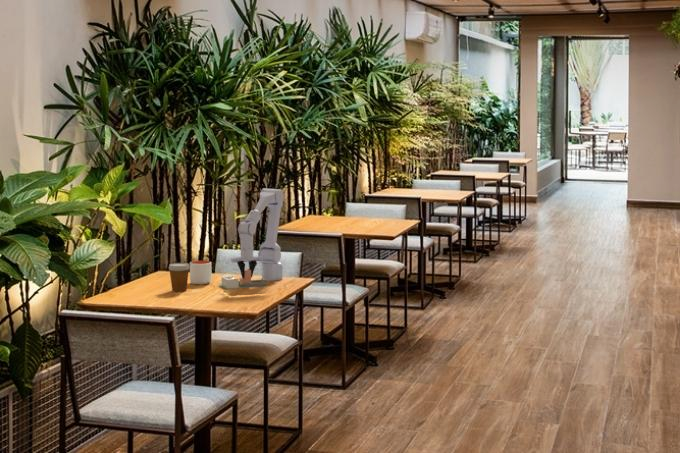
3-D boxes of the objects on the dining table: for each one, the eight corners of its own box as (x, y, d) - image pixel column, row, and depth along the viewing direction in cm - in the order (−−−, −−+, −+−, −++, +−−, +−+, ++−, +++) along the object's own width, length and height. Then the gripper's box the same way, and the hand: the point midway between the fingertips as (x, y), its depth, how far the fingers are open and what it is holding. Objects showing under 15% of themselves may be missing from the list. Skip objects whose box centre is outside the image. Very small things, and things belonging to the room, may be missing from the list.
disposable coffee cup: (185, 293, 452) (185, 266, 450) (165, 292, 454) (165, 265, 452) (193, 289, 461) (192, 263, 460) (173, 288, 463) (172, 262, 462)
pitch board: (259, 282, 479) (259, 272, 478) (269, 288, 466) (269, 277, 465) (216, 285, 470) (216, 275, 470) (225, 291, 458) (225, 280, 457)
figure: (248, 283, 469) (248, 268, 469) (251, 285, 465) (251, 270, 464) (239, 284, 468) (239, 269, 467) (242, 286, 463) (242, 270, 462)
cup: (213, 281, 481) (213, 260, 480) (208, 285, 471) (208, 264, 470) (192, 281, 482) (192, 260, 481) (187, 284, 472) (187, 263, 471)
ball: (227, 276, 465) (226, 284, 465) (230, 277, 461) (228, 286, 461) (235, 277, 466) (234, 286, 466) (238, 279, 463) (236, 287, 463)
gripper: (234, 249, 458) (234, 279, 460) (264, 248, 464) (264, 277, 465) (229, 247, 464) (229, 277, 466) (259, 246, 470) (259, 275, 472)
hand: (246, 277), depth 466 cm, fingers closed on figure, 3 cm apart
